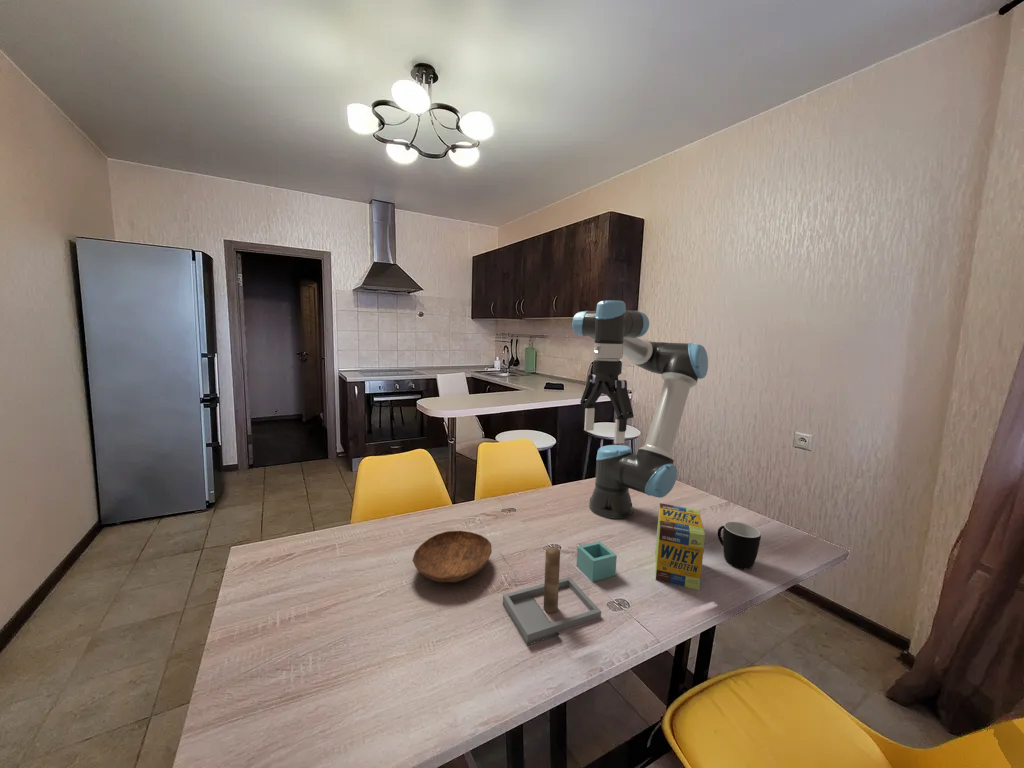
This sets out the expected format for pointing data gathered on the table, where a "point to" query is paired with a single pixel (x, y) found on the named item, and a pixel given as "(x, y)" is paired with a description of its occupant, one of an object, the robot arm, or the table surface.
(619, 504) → the robot arm
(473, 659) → the table surface
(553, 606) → the dowel
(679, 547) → the protein box
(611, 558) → the teal square container
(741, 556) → the mug
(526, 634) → the tray
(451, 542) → the bowl
